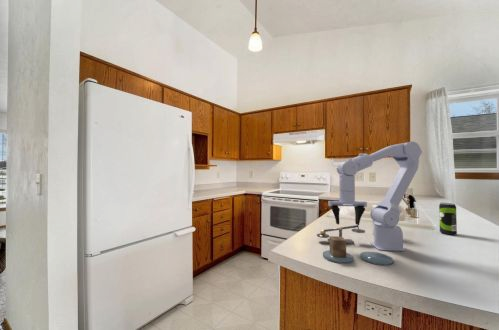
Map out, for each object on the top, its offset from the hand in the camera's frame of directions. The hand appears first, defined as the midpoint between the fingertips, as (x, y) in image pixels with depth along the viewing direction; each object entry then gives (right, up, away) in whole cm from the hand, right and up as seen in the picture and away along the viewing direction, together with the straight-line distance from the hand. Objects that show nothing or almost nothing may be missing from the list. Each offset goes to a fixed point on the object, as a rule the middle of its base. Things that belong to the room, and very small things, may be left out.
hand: (347, 224), depth 88 cm
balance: (0, -10, +6) cm, 11 cm away
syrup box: (+23, -10, +15) cm, 29 cm away
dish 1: (-8, -9, -10) cm, 16 cm away
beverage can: (+59, -10, +19) cm, 62 cm away
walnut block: (-8, -8, -10) cm, 16 cm away
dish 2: (+5, -9, -12) cm, 16 cm away
